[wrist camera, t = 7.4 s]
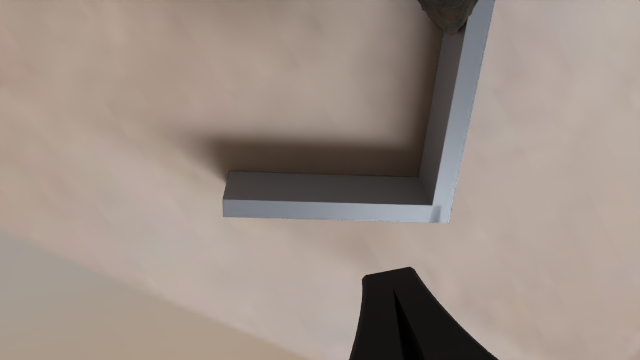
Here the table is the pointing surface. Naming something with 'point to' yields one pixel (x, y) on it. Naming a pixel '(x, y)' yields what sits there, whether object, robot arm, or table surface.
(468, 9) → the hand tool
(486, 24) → the u-shaped bracket
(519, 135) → the table surface
